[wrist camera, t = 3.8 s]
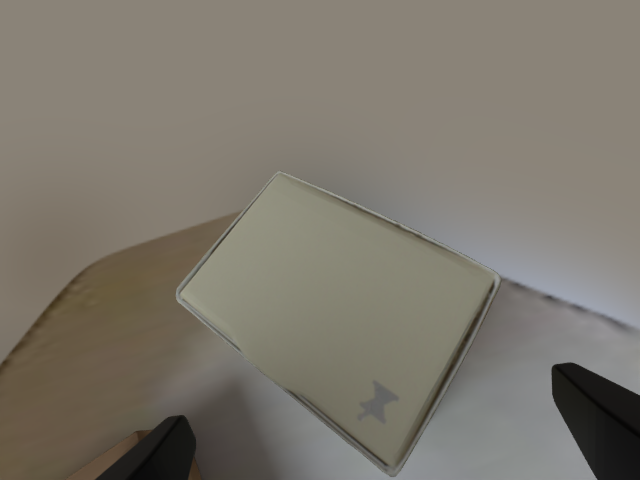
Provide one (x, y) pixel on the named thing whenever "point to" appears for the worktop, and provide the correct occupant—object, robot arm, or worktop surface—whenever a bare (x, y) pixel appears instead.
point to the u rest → (92, 470)
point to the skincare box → (343, 311)
